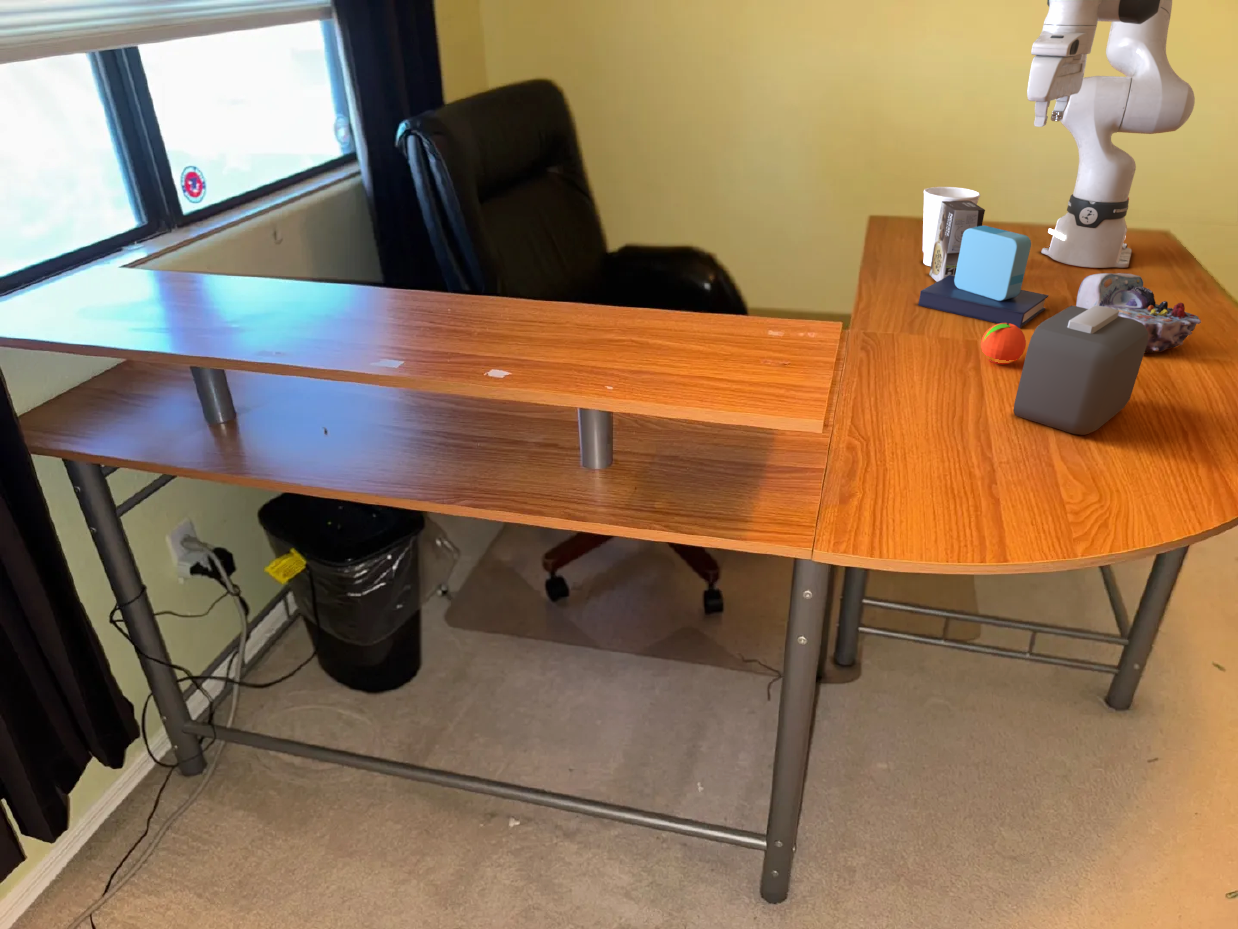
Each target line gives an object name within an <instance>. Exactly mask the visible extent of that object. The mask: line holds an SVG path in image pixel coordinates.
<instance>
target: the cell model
mask: <svg viewBox="0 0 1238 929" xmlns="http://www.w3.org/2000/svg"><path fill="white" fill-rule="evenodd" d="M1095 305H1098V306H1103V307H1107V308H1111V309H1116V310H1118V311H1119V313H1118V316H1120V317H1125V318H1129V319H1134V320H1136V321H1138V322H1140V323H1143V325H1144V326H1145V328H1146V329H1147V331H1148V342H1147V346H1146V349H1145V352H1144V353H1145V354H1147V353H1148V354H1149V353H1151V354H1152V353H1162V352H1164V351H1165V350H1168V349H1174V348H1176V347H1179V346H1182V345H1184V341H1186V339H1187V338H1188V337H1189V336H1192V334H1193V331H1194V330H1195V328H1196V326H1197V325H1200V324H1202V320H1201V318H1199V316H1198V315H1196V314H1193V313H1190V312H1187V311H1186V310H1185V308H1186V307H1185V303H1184V302H1178V303H1176V304H1175V305H1174V306H1173V308H1172V307H1169V302H1168V301H1167V300H1164V301H1161V302H1160V303H1159V304H1157V303H1156V300H1155V294H1154V292H1153V290H1151V289H1150V288H1147V287H1145V286H1144V280H1143V278H1142V277H1141V276H1140V275H1137V274H1132V273H1126V272H1116V273H1112V272H1109V273H1107V272H1104V273H1095V274H1090V275H1087V276H1085V277H1084V278H1083V280H1082V281H1081V283H1080V285H1079V288H1078V291H1077V296H1076V304H1075V306H1077V307H1081V308H1086V309H1089V308H1091V307H1093V306H1095Z"/></svg>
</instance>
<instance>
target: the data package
mask: <svg viewBox="0 0 1238 929" xmlns="http://www.w3.org/2000/svg"><path fill="white" fill-rule="evenodd" d="M1031 248H1032V240H1031V238H1030V237H1029V236H1027V235H1026V234H1022V233H1017V232H1013V231H1009V230H1005V229H1002V228H1001V229H1000V228H996V227H992V226H989V225H982V226H978V227H974V228H969V229H967V230H966V231H965V232H964V234H963V237H962V243H961V248H960V253H959V258H958V263H957V269H956V274H955V279H954V282H955V285H956V287H957V288H959V289H962V290H965V291H968V292H971V293H974V294H978V295H981V296H984V297H987V298H991V299H994V300H997V301H1003V300H1006V299H1010V298H1013V297H1016V296H1018V295H1019V293H1020V291H1021V290H1022V286H1023V281H1024V278H1025V274H1026V269H1027V265H1028V261H1029V256H1030V251H1031Z"/></svg>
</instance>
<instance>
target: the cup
mask: <svg viewBox="0 0 1238 929" xmlns="http://www.w3.org/2000/svg"><path fill="white" fill-rule="evenodd" d="M980 197H981V194H980V192H978V191H976V190H974V189H969V188H965V187H955V186H932V187H927V188H924V189H923V219H922V221H923V224H922V253H923V259H922V260H923V261H922V262H923V265H925V266H928V267H931V262H932V256H933V250H934V244H935V238H936V231H937V225H938V220H939V214H940V208H941V202H942V201H971V202H973V203H975V204H976V205H978V204H979V203H978V202H979V199H980Z"/></svg>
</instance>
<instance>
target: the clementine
mask: <svg viewBox="0 0 1238 929" xmlns="http://www.w3.org/2000/svg"><path fill="white" fill-rule="evenodd" d="M1026 346H1027V340H1026V336H1025V334H1024V332H1023V330H1022V329H1021V328H1018V327H1017V326H1015V325H1013V324H1010V323H999V324H998V323H995V324H994V325H991V326H990V327H989V328H988V329H986V331H985V332H984V334H983V336H982V338H981V340H980V349H981V352H983V353H984V354H985V355H986V356H989V357H992V358H994V359H999V360H1006V361H1009V360H1016V359H1017V360H1018V359H1020V358H1021V357H1022V355H1024V352H1025V349H1026ZM983 353H982V354H983ZM984 354H983V355H984ZM1017 360H1016V361H1017ZM988 361H989V362H990V363H993V364H994V365H995V364H996V365H1002V366H1003V365H1004V366H1005V365H1009V364H1010V363H998V362H994V361H991V360H988Z"/></svg>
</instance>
